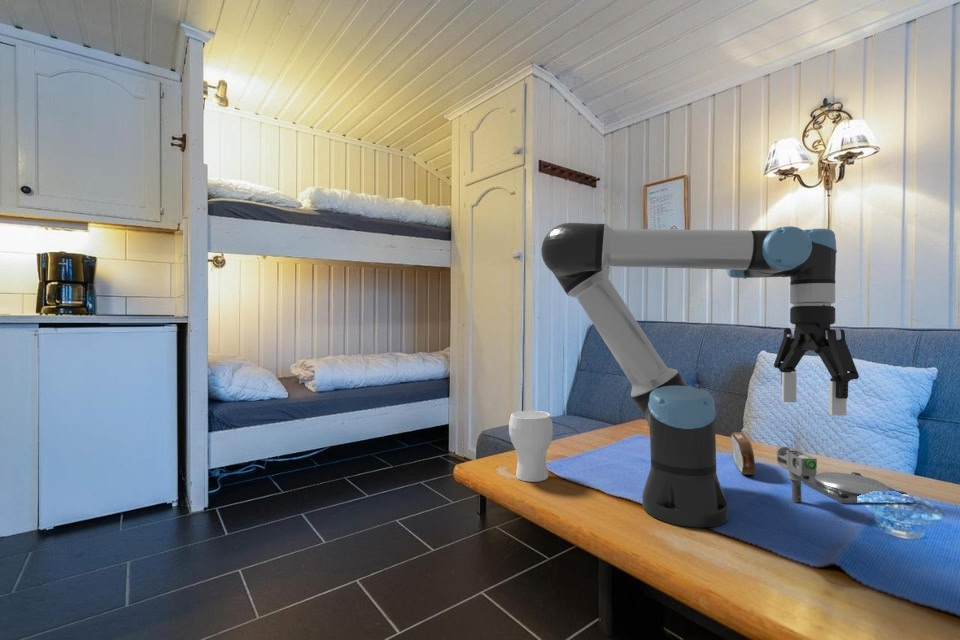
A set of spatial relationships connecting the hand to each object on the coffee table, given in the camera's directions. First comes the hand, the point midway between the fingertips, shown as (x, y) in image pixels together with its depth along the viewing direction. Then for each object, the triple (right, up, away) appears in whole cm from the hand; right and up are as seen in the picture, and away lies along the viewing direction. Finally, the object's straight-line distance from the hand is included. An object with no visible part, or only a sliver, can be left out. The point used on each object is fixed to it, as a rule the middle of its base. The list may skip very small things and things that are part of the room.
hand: (811, 408), depth 92 cm
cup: (-56, -20, +16) cm, 62 cm away
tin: (-4, -19, +18) cm, 26 cm away
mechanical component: (-5, -19, -2) cm, 19 cm away
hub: (+11, -18, +3) cm, 21 cm away
